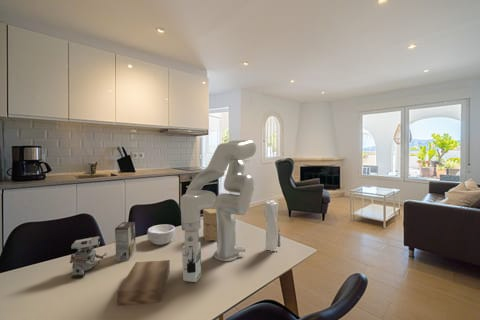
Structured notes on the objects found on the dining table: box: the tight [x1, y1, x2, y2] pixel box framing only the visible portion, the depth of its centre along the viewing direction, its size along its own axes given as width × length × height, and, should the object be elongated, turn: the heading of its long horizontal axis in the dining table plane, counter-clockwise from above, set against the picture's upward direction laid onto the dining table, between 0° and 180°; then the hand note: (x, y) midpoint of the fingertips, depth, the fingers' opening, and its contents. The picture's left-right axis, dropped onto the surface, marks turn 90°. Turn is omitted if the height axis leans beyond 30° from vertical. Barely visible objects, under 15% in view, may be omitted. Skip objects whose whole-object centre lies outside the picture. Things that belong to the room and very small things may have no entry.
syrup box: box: [181, 240, 203, 283], centre depth 91 cm, size 6×6×14 cm
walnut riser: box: [116, 259, 171, 306], centre depth 88 cm, size 14×20×5 cm
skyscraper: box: [264, 199, 282, 252], centre depth 120 cm, size 8×8×28 cm
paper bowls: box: [147, 224, 176, 246], centre depth 130 cm, size 15×15×8 cm
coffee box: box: [114, 221, 137, 262], centre depth 112 cm, size 9×6×16 cm
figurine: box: [69, 235, 108, 279], centre depth 97 cm, size 9×12×15 cm
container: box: [202, 205, 217, 242], centre depth 136 cm, size 13×13×18 cm
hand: (192, 266), depth 91 cm, fingers closed on syrup box, 7 cm apart
